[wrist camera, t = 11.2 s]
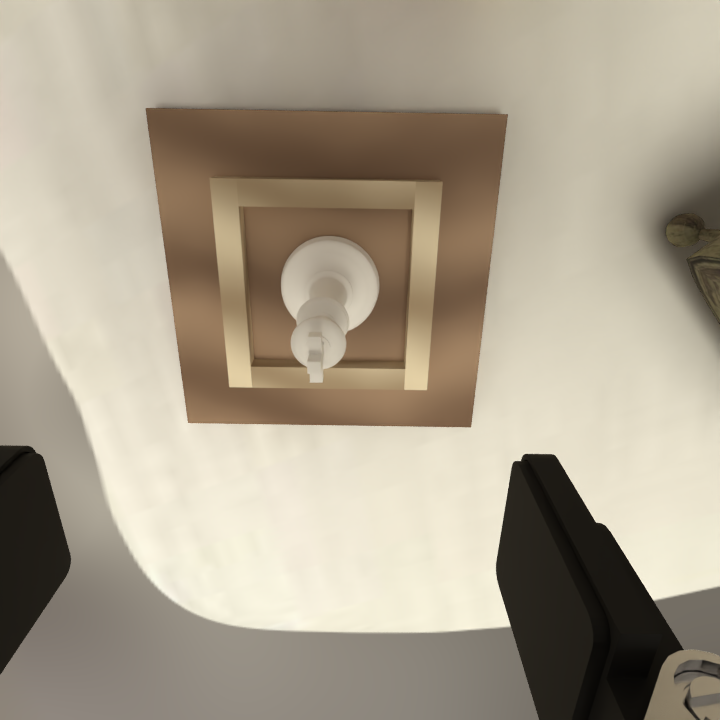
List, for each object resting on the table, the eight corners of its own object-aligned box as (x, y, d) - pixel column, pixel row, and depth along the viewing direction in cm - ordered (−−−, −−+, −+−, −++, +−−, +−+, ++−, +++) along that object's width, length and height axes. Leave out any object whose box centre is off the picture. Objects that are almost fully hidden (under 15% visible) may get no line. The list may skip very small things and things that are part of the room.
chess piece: (284, 331, 27) (245, 432, 18) (278, 235, 25) (230, 294, 16) (378, 331, 27) (388, 433, 18) (380, 235, 25) (391, 294, 16)
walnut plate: (155, 109, 24) (136, 107, 22) (501, 115, 24) (514, 113, 22) (194, 412, 30) (182, 432, 28) (466, 416, 30) (474, 436, 28)
